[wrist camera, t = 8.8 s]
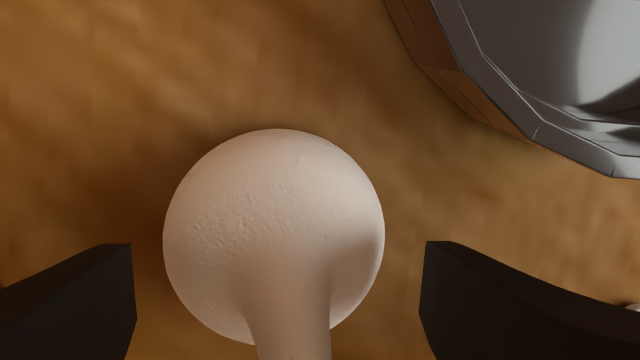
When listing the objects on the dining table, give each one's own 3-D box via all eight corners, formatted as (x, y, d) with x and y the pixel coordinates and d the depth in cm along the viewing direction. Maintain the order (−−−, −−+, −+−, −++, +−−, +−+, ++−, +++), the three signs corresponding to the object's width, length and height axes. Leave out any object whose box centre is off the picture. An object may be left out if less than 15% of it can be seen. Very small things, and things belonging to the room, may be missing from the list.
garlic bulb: (224, 84, 14) (168, 145, 6) (406, 170, 15) (541, 305, 8) (147, 263, 15) (25, 488, 8) (320, 327, 17) (361, 573, 9)
